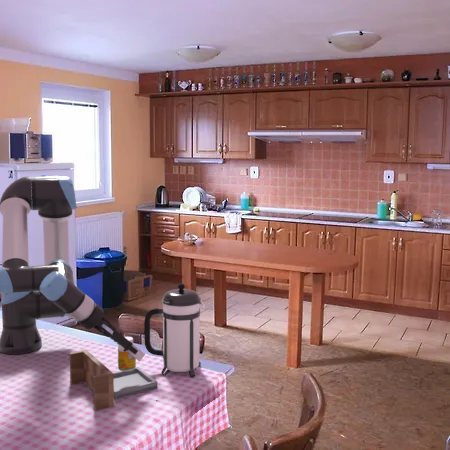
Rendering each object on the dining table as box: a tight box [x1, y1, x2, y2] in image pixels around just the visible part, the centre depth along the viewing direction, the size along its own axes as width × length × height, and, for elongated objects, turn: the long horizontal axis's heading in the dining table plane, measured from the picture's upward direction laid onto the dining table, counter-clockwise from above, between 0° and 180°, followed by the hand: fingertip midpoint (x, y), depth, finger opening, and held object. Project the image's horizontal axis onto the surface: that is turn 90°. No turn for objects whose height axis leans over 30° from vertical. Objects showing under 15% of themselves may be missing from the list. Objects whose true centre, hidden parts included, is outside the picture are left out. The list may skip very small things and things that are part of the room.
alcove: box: [69, 349, 115, 412], centre depth 168 cm, size 22×6×10 cm, turn 33°
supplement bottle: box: [117, 336, 137, 372], centre depth 174 cm, size 5×5×10 cm
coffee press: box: [143, 282, 206, 378], centre depth 185 cm, size 17×16×30 cm
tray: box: [112, 366, 158, 400], centre depth 175 cm, size 14×14×2 cm
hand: (137, 354), depth 176 cm, fingers closed on supplement bottle, 5 cm apart
